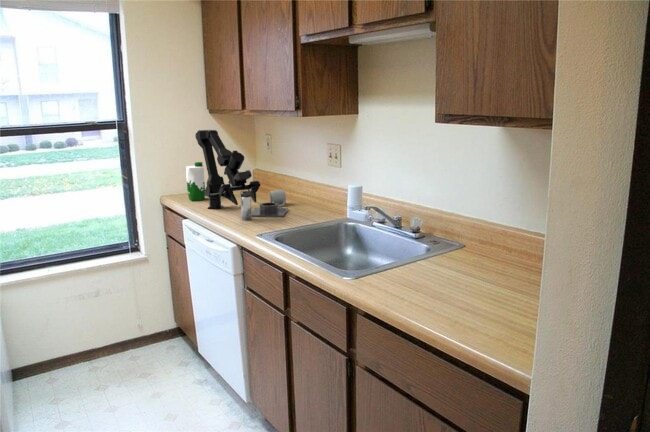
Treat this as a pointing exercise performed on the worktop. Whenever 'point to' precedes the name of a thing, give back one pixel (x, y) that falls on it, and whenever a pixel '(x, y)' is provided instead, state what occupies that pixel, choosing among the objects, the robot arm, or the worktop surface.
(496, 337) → the worktop surface
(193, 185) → the milk carton
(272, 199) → the ceramic mug
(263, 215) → the firebox collar
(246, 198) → the black capped shaker
